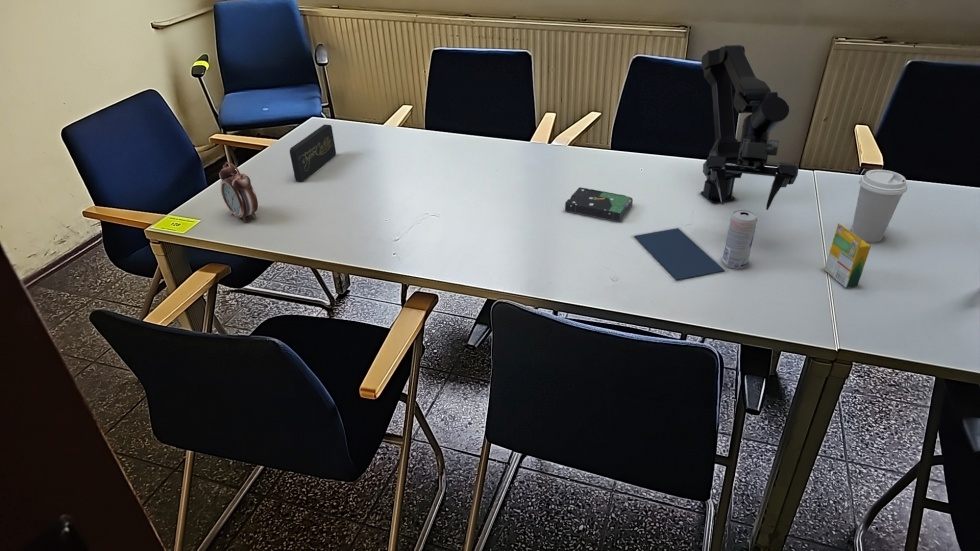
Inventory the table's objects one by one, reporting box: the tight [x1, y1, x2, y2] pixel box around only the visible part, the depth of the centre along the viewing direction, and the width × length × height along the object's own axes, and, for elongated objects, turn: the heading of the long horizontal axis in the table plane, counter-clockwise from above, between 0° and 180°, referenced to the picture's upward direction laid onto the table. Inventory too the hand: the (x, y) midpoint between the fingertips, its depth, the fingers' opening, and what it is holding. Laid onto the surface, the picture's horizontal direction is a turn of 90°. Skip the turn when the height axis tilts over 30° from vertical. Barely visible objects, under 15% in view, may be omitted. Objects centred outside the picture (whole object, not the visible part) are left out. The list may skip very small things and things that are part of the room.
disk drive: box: [564, 186, 634, 222], centre depth 168 cm, size 10×3×15 cm
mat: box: [633, 227, 726, 281], centre depth 149 cm, size 12×20×1 cm, turn 16°
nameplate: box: [289, 124, 337, 182], centre depth 193 cm, size 21×2×10 cm, turn 163°
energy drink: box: [721, 209, 758, 270], centre depth 142 cm, size 5×5×12 cm
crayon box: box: [823, 222, 872, 289], centre depth 136 cm, size 7×3×12 cm, turn 12°
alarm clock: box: [218, 161, 259, 223], centre depth 167 cm, size 11×5×15 cm, turn 47°
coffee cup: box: [850, 169, 908, 244], centre depth 149 cm, size 10×10×15 cm
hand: (744, 206), depth 143 cm, fingers open, 9 cm apart
